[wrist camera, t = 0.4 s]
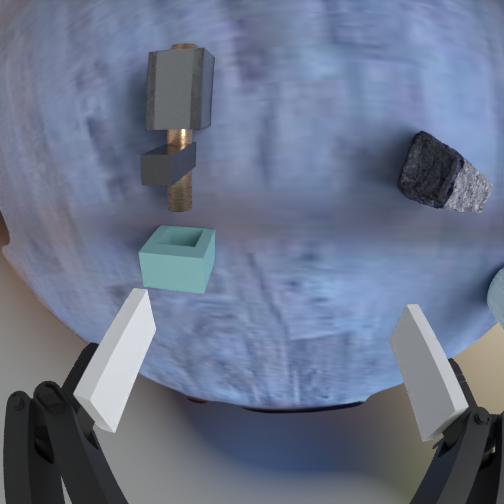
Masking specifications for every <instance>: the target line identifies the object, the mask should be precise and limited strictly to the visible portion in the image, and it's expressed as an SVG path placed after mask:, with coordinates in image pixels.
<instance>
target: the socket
mask: <svg viewBox="0 0 504 504" xmlns="http://www.w3.org/2000/svg"><path fill="white" fill-rule="evenodd" d="M139 259H140V266H141V272H142V279H143V284H144V286H145V287H153V288H160V289H168V290H176V291H184V292H193V293H202V294H204V292H205V289H206V286H207V283H208V280H209V277H210V273H211V270H212V267H213V264H214V261H215V229H206V228H194V227H180V226H167V225H160V226H159V227H158V229H157V230H156V231H155V232H154V233H153V235H152V236H151V237H150V238H149V240H148V241H147V242H146V243H145V245H144V246H143V247H142V248H141V250H140V251H139Z"/></svg>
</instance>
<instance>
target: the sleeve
mask: <svg viewBox="0 0 504 504" xmlns="http://www.w3.org/2000/svg"><path fill="white" fill-rule="evenodd" d="M214 60H215V57H214V56H213V55H212V54H211V53H209V52H208V51H207V50H206V49H205V48H189V49H175V50H165V51H156V52H149V60H148V74H147V94H146V130H171V129H202V128H205V127H208V126H210V124H211V105H212V88H213V74H214Z"/></svg>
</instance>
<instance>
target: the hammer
mask: <svg viewBox="0 0 504 504" xmlns="http://www.w3.org/2000/svg"><path fill="white" fill-rule="evenodd" d="M189 48H198V46H197V45H194V44H176V45H172V46H171V50H175V49H189ZM192 136H193V129H171V130H167V144H165V145H163V146H160V147H158V148H156V149H153V150H151V151H149V152H146V153H144V154H142V155H141V175H142V185H159V186H167V193H168V209H169V210H170V211H173V212H184V211H188V210H190V209H191V208H192V169H193V168H194V167H195V166H196V142H192Z"/></svg>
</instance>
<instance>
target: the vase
mask: <svg viewBox="0 0 504 504" xmlns="http://www.w3.org/2000/svg"><path fill="white" fill-rule="evenodd" d="M487 304H488V307H489V309H490V311H491V312H492V313H493V315H494V316H495V317H496V319H497V320H498V322H499V323H500V324H501V326H502V327H503V329H504V268H502V269H501V270H500V271H499V272H498V273H497V274H496V275H495V276H494V278H493V280H492V281H491V284H490V286H489V290H488V295H487Z"/></svg>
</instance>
